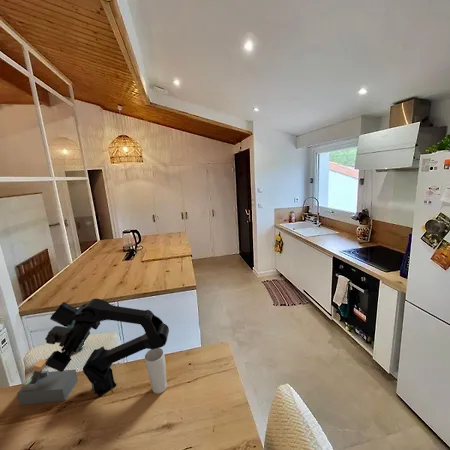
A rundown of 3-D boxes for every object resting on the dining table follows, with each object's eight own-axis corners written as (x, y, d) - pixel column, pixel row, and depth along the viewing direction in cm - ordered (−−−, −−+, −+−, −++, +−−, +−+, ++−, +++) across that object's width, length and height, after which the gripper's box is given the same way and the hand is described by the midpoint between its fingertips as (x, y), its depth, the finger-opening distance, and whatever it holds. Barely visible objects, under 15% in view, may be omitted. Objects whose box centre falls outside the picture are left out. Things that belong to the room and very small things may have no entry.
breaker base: (78, 380, 98) (75, 366, 97) (65, 400, 89) (61, 385, 88) (37, 384, 97) (33, 369, 96) (20, 405, 88) (16, 389, 87)
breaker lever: (41, 378, 94) (46, 360, 92) (35, 385, 90) (40, 367, 89) (34, 376, 93) (40, 358, 92) (28, 383, 90) (34, 365, 89)
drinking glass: (172, 384, 93) (168, 351, 89) (159, 399, 88) (153, 364, 84) (159, 377, 97) (154, 345, 93) (146, 391, 91) (140, 357, 87)
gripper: (72, 306, 96) (53, 337, 99) (40, 337, 78) (18, 374, 80) (98, 319, 98) (79, 349, 100) (74, 353, 80) (51, 389, 82)
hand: (59, 363), depth 91 cm, fingers open, 4 cm apart
